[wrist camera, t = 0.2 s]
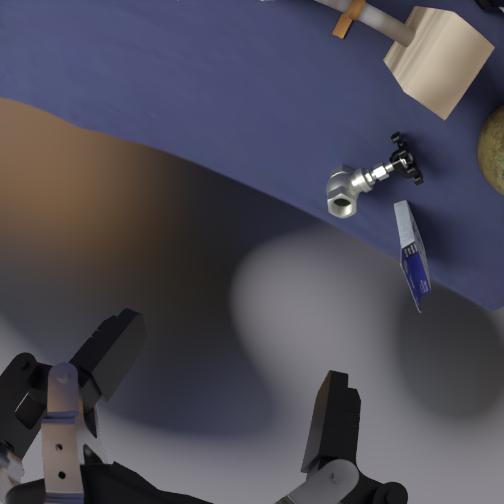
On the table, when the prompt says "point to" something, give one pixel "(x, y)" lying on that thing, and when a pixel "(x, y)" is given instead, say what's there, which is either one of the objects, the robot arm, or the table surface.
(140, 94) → the table surface
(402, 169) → the valve
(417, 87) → the rod stand
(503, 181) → the weight
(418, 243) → the ink box
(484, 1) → the coffee press
